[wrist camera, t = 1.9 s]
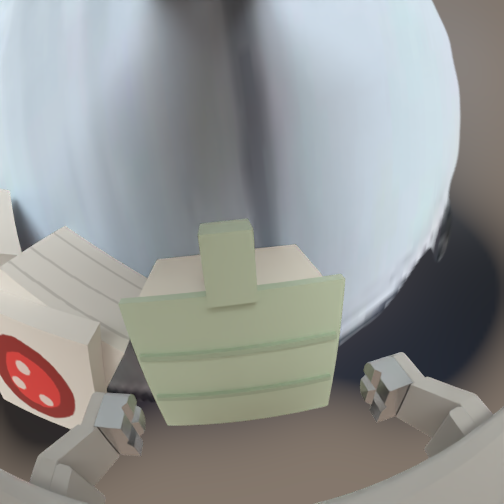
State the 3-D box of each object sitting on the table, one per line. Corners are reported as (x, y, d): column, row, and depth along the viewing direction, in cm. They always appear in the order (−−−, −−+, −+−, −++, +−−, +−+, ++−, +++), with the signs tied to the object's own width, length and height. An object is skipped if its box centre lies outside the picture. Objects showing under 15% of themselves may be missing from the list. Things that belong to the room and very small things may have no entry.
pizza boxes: (11, 171, 27) (-78, 195, 10) (173, 278, 36) (147, 376, 19) (-11, 272, 31) (-72, 324, 14) (123, 365, 40) (98, 454, 23)
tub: (157, 259, 34) (134, 307, 23) (295, 244, 36) (330, 285, 25) (180, 355, 40) (174, 415, 29) (295, 341, 42) (318, 397, 30)
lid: (112, 234, 22) (97, 247, 19) (336, 211, 24) (353, 220, 21) (169, 410, 30) (167, 431, 27) (321, 392, 32) (330, 411, 29)
